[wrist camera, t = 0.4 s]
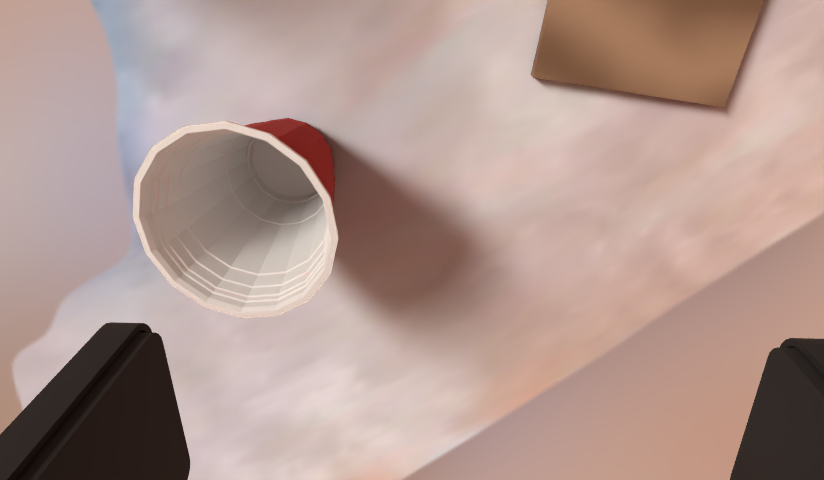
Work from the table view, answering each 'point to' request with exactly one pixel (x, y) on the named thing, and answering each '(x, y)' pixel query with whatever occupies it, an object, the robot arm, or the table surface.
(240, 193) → the plastic cup
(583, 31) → the walnut board
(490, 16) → the table surface
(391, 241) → the table surface
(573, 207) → the table surface
